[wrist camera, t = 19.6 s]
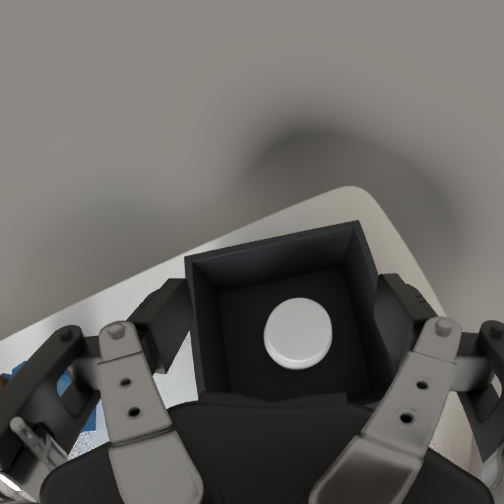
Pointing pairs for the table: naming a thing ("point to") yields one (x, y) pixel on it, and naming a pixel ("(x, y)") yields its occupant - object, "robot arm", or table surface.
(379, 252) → the table surface
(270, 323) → the pill bottle
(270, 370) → the open box
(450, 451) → the table surface
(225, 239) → the table surface
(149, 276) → the table surface
